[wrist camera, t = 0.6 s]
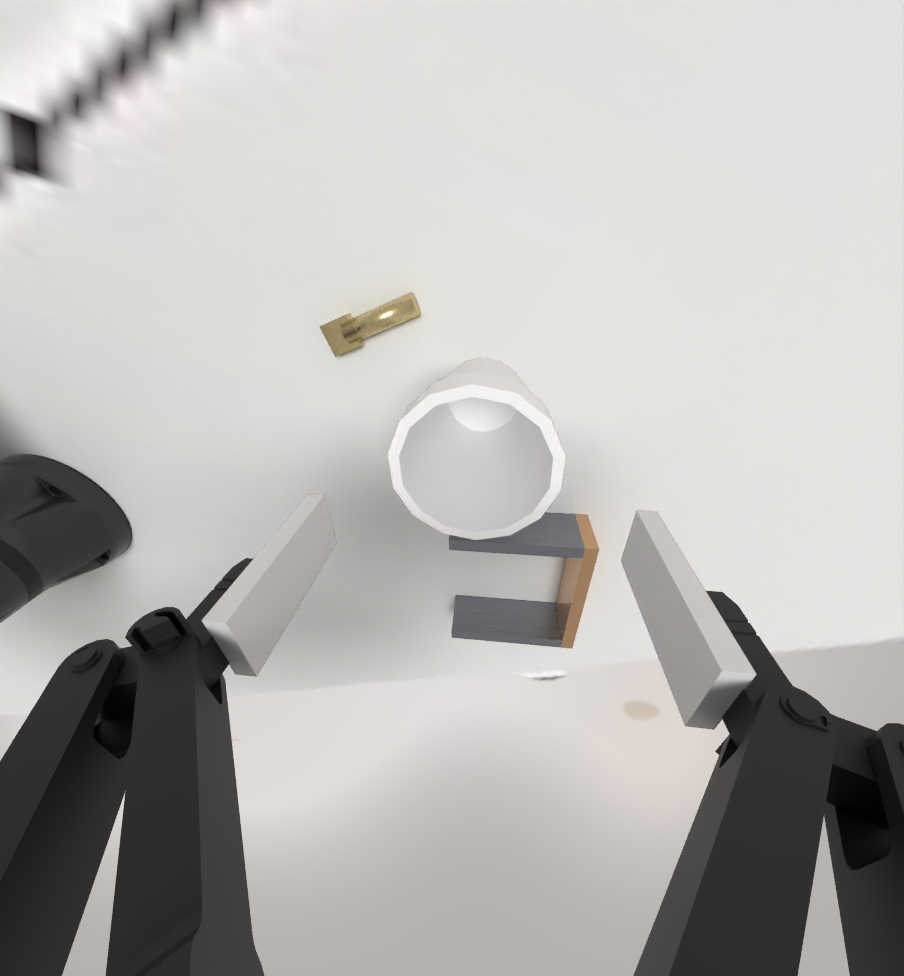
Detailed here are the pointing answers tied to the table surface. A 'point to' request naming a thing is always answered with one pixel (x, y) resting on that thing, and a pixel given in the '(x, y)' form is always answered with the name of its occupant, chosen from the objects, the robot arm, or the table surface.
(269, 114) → the table surface
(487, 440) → the foam cup
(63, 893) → the robot arm
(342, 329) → the brass key
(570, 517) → the channel
